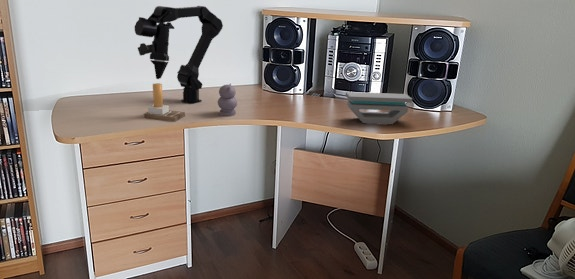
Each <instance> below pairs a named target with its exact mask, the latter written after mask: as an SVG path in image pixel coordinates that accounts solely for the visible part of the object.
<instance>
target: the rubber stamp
mask: <svg viewBox="0 0 575 279" xmlns="http://www.w3.org/2000/svg"><path fill="white" fill-rule="evenodd" d="M152 94H153V95H152V96H153V97H152V98H153V100H152V101H153V104H152V105H149V106H147V112H148V113H151V114H160V115H163V114H165V113H167V112H169V110H170V106H169V105H166V104H164V102H163V101H164V100H163V99H164V98H163V97H164V96H163V84H162V83H160V82H159V83H157V82H156V83H152Z"/></svg>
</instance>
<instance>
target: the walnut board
mask: <svg viewBox="0 0 575 279" xmlns="http://www.w3.org/2000/svg"><path fill="white" fill-rule="evenodd" d="M184 117H186V112H185V111H177V110H170V109H169V112H167V113H165V114H163V115H160V114H151V113H148V111H147V112H145V113H143V118H145V119H153V120H160V121H169V122H177V121H179V120H181V119H182V118H184Z"/></svg>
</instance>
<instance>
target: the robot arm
mask: <svg viewBox="0 0 575 279" xmlns="http://www.w3.org/2000/svg"><path fill="white" fill-rule="evenodd" d="M192 17H197V18H198V20H199V22H200V23H201V35H200V37H199V38H198V41H197V42H196V45H195V48H194V49H193V51H192V54H191V55H190V58H189V59H188V62H187V63H186V64H185V65H184V64H181V65H180V67H179V70H178V71H177V76H176V78H177V81H178V83H179V86H180V87H182V88H183V91H182V99H181V100H180V101H181V102H184V103H188V104H191V105H192V104H196V103H199V102H202V99H200V90H201V89H202V87H203V83H202V82H201V81H200V80H199V76H200V72H199V69H200V66H201V64H202V61H203V59H204V58H205V56H206V54H207V52H208V49H209V47H210V45H211V43H212V41H213V40H214V38H216V37H217V36H218V35H220V33H221V31H222V30H223V27H224V24H223V21H222V19H220V18H218V16H217V15H216V14H215V13H213V12H211V10H209V8H207V7H206V6H204V5H197V6H187V7H185V6H184V7H170V6H163V5H162V6H161V5H158V6H155V8H154V9H153V12H152V13H151V14H150V16H149V17H148V18H145V17H140V16H139V17H138V20H137V21H136V23H135V24H134V33H135V35H136V36H139V37H146V38H153V40H152V41H151V43H150V44H146V43H144V42H142V43H139V46H138V47H137V51H138V54H139V56H144V55H146V54H147V55H148V54H149V60H150V62H151V64H152V65H154V66H153V67H154V74H155V79H156V80H160V79H162V76H163V75H164V72H165V71H166V69H167V66H168V64H169V61H170V56H169V53H168V52H169V46H170V43H169V40H170V30H174V29H175V26H174V25H173V24H172V23H171V22H174V21H176V20H178V19H183V18H192Z"/></svg>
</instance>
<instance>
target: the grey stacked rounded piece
mask: <svg viewBox="0 0 575 279" xmlns="http://www.w3.org/2000/svg"><path fill="white" fill-rule="evenodd" d="M218 93H219V96H220V97H219V98H218V100H217V105H218V107H219V108H220V110H219V115H220V114H221V115H220V116H222V115H224V116H223V117H232V116H235V115H236V114H237V113H236V112H237V110H236V107H237V105H238V100H237V98H236V97H235V96H236V88H235V87H234V86H233V85H232V83H230V84H224V85H222V86H221V87H220V88H219V90H218Z"/></svg>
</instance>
